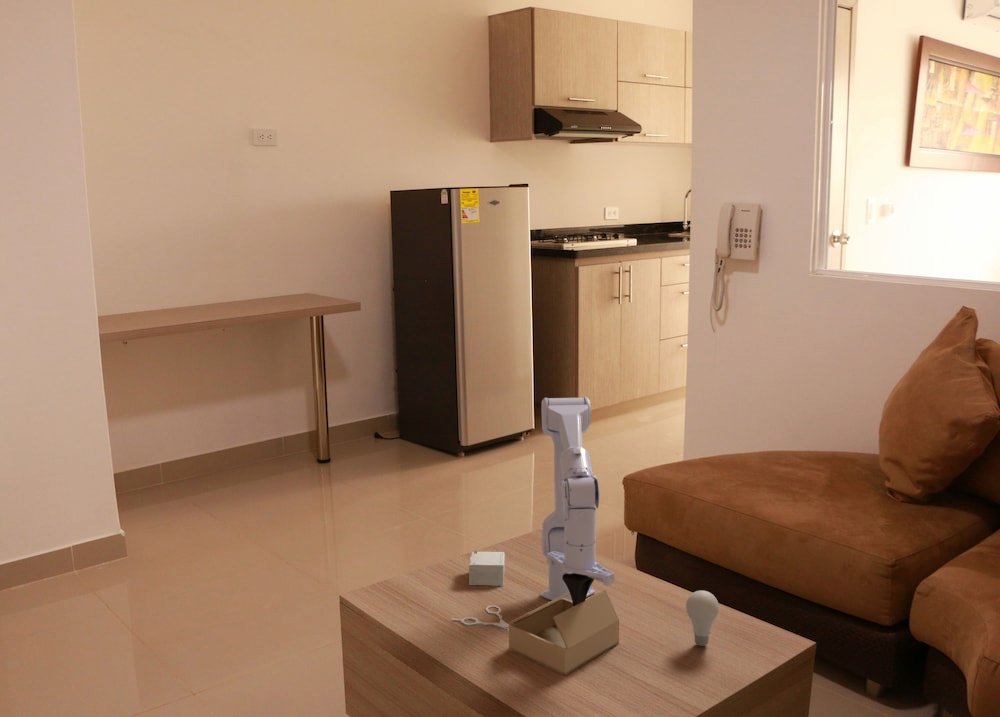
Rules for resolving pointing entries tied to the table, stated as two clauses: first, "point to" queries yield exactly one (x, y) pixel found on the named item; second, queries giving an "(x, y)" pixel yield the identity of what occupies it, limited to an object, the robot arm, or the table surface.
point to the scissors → (501, 624)
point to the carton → (557, 640)
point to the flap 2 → (585, 619)
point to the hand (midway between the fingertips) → (579, 609)
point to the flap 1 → (541, 607)
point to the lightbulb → (702, 614)
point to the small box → (487, 568)
